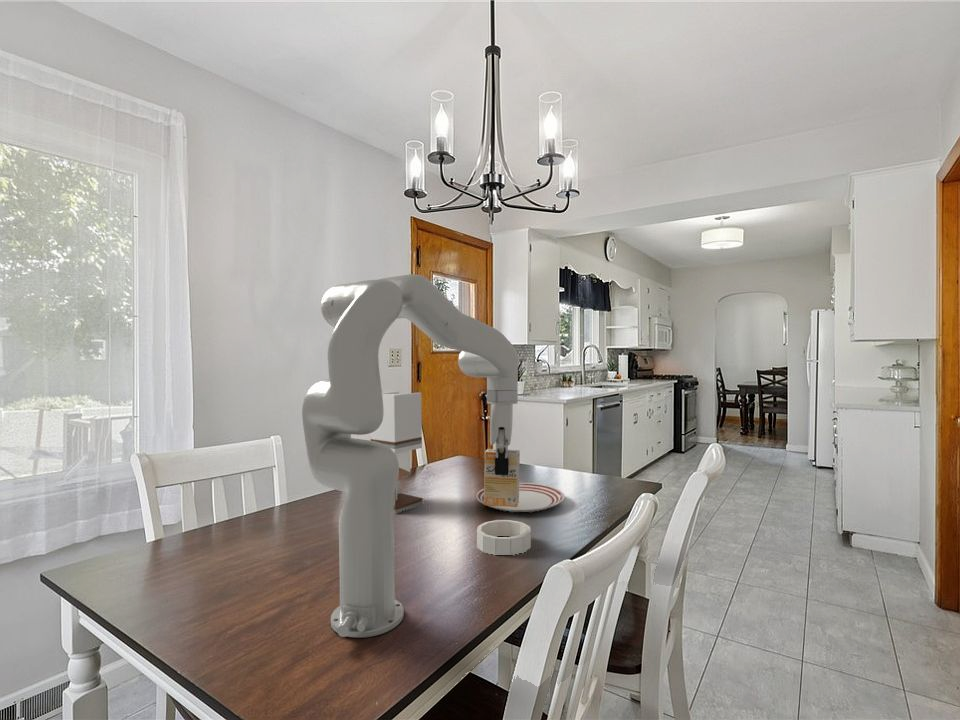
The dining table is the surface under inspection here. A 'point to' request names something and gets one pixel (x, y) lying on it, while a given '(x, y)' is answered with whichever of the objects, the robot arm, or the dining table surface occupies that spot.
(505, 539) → the white faceted ring
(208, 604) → the dining table surface
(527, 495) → the dinner plate
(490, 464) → the supplement box
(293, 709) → the dining table surface
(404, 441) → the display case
